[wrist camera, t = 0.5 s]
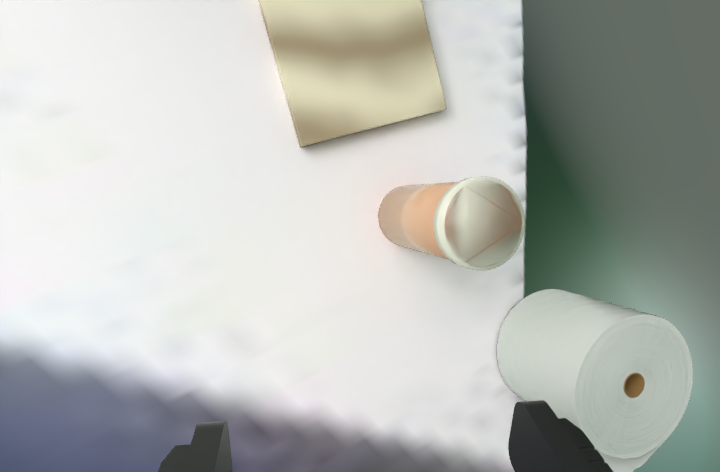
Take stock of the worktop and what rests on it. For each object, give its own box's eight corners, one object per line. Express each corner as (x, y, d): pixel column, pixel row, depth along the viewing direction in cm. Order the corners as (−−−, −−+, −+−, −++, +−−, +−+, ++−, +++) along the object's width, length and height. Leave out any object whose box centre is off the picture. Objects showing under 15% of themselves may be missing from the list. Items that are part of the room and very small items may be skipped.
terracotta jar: (368, 193, 38) (431, 191, 26) (428, 175, 39) (513, 166, 27) (385, 257, 38) (453, 282, 27) (444, 237, 40) (533, 254, 28)
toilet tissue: (583, 273, 44) (684, 295, 34) (604, 391, 46) (704, 443, 36) (484, 307, 41) (562, 341, 32) (509, 431, 43) (591, 498, 33)
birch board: (249, -31, 34) (250, -39, 33) (400, -55, 37) (406, -63, 35) (300, 147, 36) (302, 145, 35) (439, 111, 39) (446, 108, 37)
